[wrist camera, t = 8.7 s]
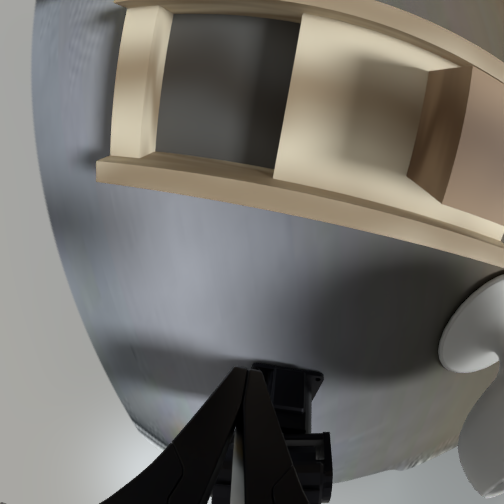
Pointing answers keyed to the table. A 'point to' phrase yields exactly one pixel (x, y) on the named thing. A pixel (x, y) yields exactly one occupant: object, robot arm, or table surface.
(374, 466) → the table surface
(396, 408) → the table surface
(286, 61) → the channel
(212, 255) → the table surface
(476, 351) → the chalice
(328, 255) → the table surface
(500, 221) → the walnut block
